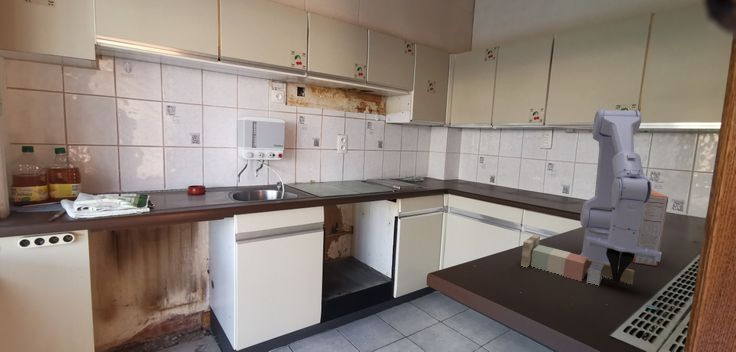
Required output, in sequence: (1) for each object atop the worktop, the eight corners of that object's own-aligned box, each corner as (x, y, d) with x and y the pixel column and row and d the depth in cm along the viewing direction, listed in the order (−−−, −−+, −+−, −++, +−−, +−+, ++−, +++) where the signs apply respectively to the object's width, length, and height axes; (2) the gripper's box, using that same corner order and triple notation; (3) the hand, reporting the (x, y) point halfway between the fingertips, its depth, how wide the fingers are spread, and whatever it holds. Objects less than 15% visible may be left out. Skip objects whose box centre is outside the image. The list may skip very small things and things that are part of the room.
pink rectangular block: (568, 270, 91) (570, 252, 90) (585, 275, 88) (587, 257, 88) (563, 277, 87) (565, 258, 86) (581, 282, 84) (583, 263, 83)
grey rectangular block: (590, 276, 88) (592, 261, 87) (601, 279, 86) (604, 264, 86) (586, 283, 84) (588, 268, 83) (598, 286, 82) (600, 271, 81)
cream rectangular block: (552, 265, 94) (554, 248, 93) (568, 269, 91) (570, 252, 91) (546, 271, 90) (548, 253, 89) (563, 276, 87) (565, 258, 86)
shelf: (532, 256, 100) (534, 234, 99) (632, 283, 84) (636, 257, 83) (520, 266, 92) (523, 242, 91) (629, 298, 76) (633, 269, 75)
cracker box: (618, 248, 111) (628, 186, 108) (640, 251, 109) (651, 188, 106) (632, 263, 98) (643, 193, 95) (657, 267, 96) (670, 196, 93)
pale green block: (537, 261, 97) (539, 244, 96) (552, 265, 94) (554, 248, 93) (530, 267, 92) (532, 249, 91) (546, 271, 90) (548, 253, 89)
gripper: (586, 223, 82) (578, 275, 84) (664, 238, 72) (654, 296, 74) (591, 218, 87) (583, 267, 89) (664, 231, 77) (655, 286, 79)
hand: (616, 280), depth 82 cm, fingers closed
